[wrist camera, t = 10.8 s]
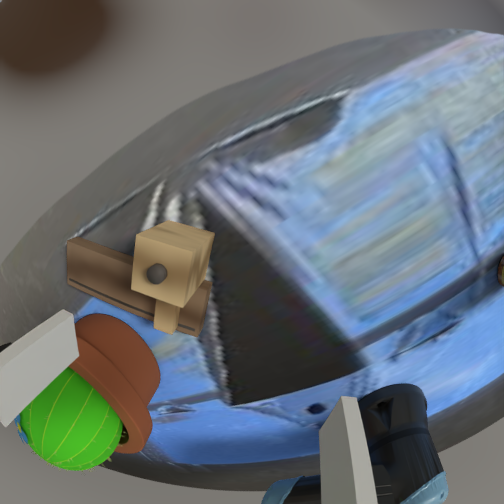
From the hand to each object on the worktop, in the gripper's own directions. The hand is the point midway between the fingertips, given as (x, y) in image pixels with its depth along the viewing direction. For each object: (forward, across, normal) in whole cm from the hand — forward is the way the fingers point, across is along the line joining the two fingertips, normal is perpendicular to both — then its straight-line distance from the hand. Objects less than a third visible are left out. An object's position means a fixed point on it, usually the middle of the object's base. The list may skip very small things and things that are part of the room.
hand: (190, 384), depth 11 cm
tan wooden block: (+22, +8, +5) cm, 24 cm away
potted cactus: (+22, +19, +24) cm, 38 cm away
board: (+22, +15, +8) cm, 28 cm away
